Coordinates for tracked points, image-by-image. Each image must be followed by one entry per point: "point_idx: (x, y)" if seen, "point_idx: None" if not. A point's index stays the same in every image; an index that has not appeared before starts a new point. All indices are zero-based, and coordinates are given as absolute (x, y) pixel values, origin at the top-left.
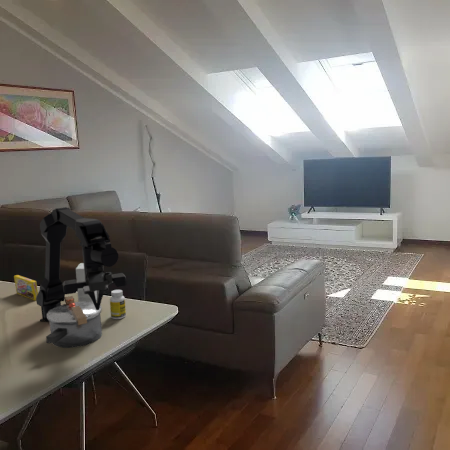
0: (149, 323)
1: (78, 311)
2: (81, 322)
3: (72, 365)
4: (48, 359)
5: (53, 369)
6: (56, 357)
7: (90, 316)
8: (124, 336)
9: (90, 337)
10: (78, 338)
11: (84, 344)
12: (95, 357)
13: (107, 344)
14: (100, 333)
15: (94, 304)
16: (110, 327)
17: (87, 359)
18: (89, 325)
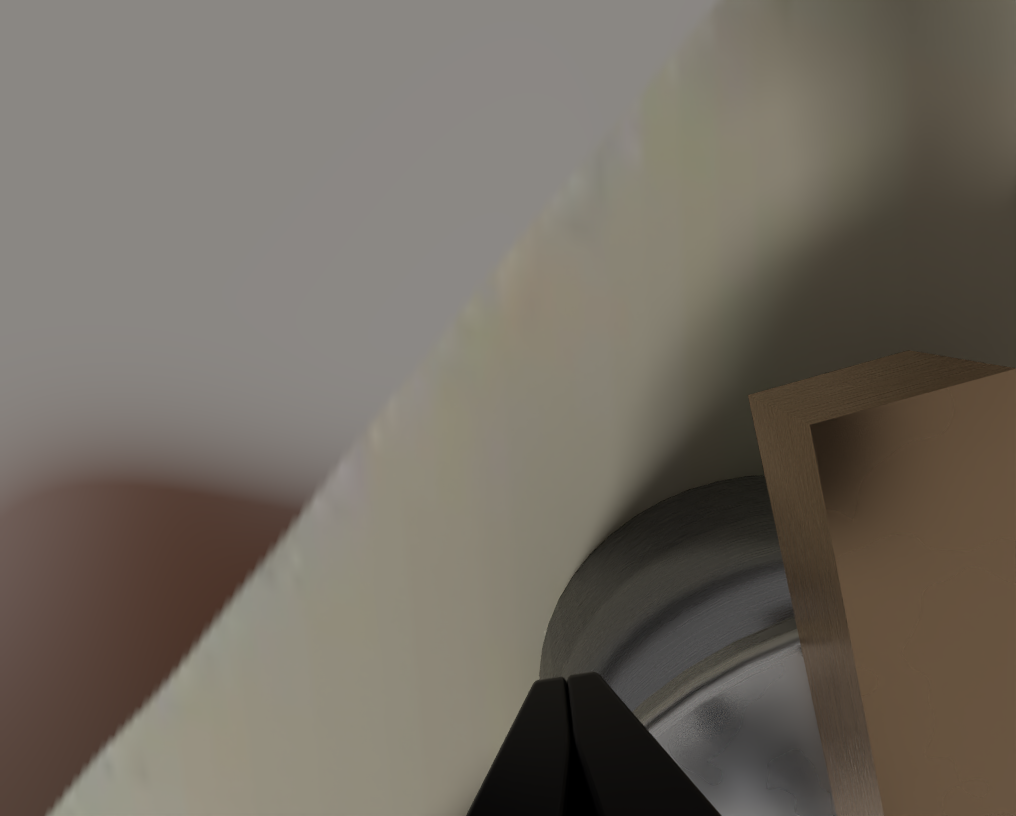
0: (138, 788)
1: (965, 792)
2: (870, 374)
3: (789, 70)
4: (1012, 277)
5: (971, 27)
6: (938, 301)
7: (689, 705)
8: (335, 585)
9: (641, 546)
10: (768, 510)
11: (688, 495)
12: (575, 196)
13: (478, 457)
14: (549, 649)
15: (670, 776)
16: (473, 796)
17: (649, 171)
18: (675, 623)
